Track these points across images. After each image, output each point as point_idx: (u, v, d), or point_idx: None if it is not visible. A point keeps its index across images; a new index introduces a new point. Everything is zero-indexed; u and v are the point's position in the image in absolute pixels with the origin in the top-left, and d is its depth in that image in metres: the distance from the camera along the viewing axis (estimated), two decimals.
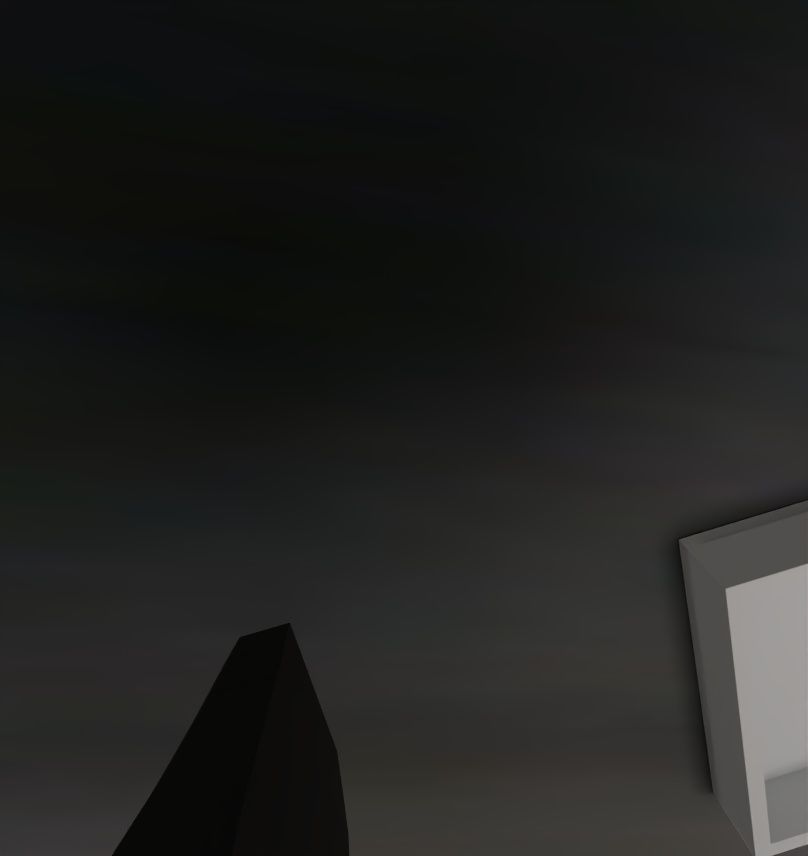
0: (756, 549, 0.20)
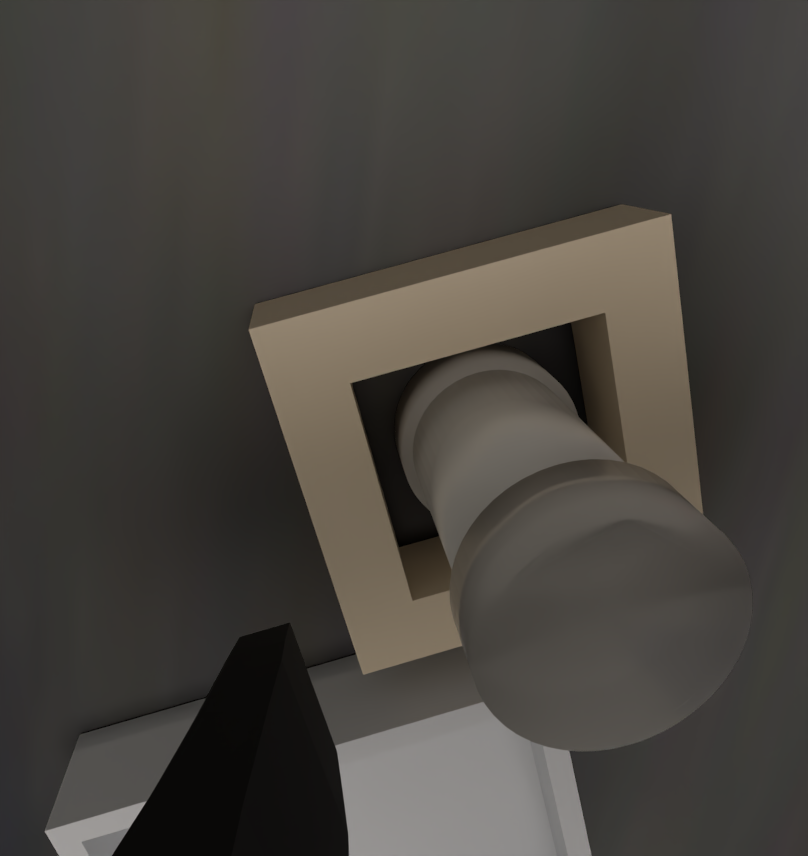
0: None
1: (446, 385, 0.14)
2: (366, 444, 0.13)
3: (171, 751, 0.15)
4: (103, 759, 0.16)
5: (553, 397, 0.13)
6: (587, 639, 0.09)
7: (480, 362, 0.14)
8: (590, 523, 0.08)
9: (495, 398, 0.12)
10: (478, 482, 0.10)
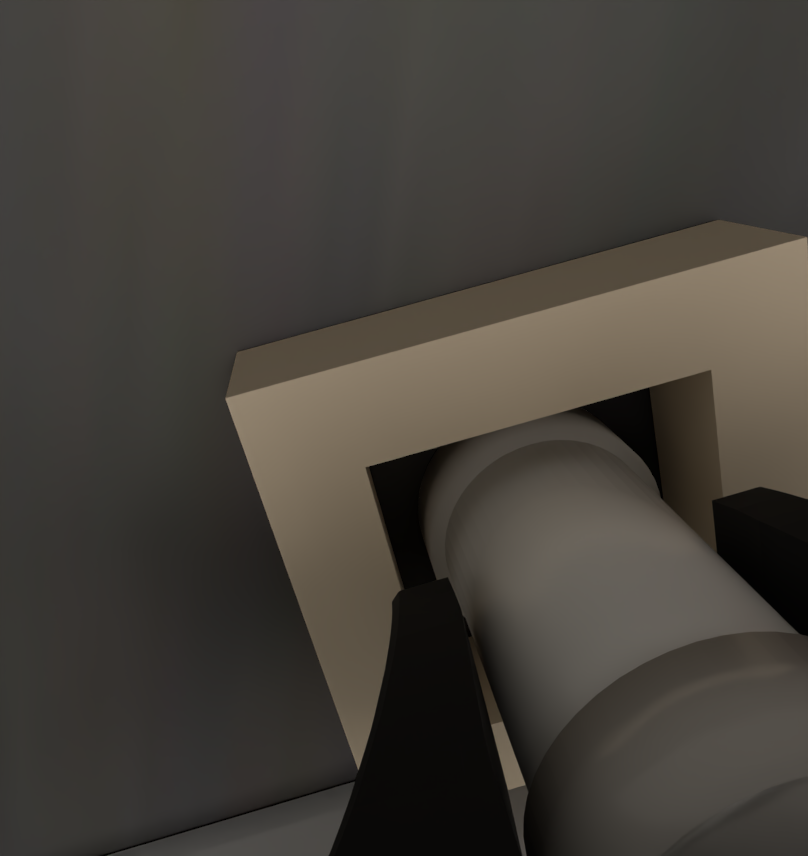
0: None
1: (489, 460, 0.10)
2: (386, 545, 0.10)
3: None
4: None
5: (639, 484, 0.09)
6: None
7: (536, 430, 0.10)
8: (780, 775, 0.05)
9: (564, 490, 0.09)
10: (560, 640, 0.07)
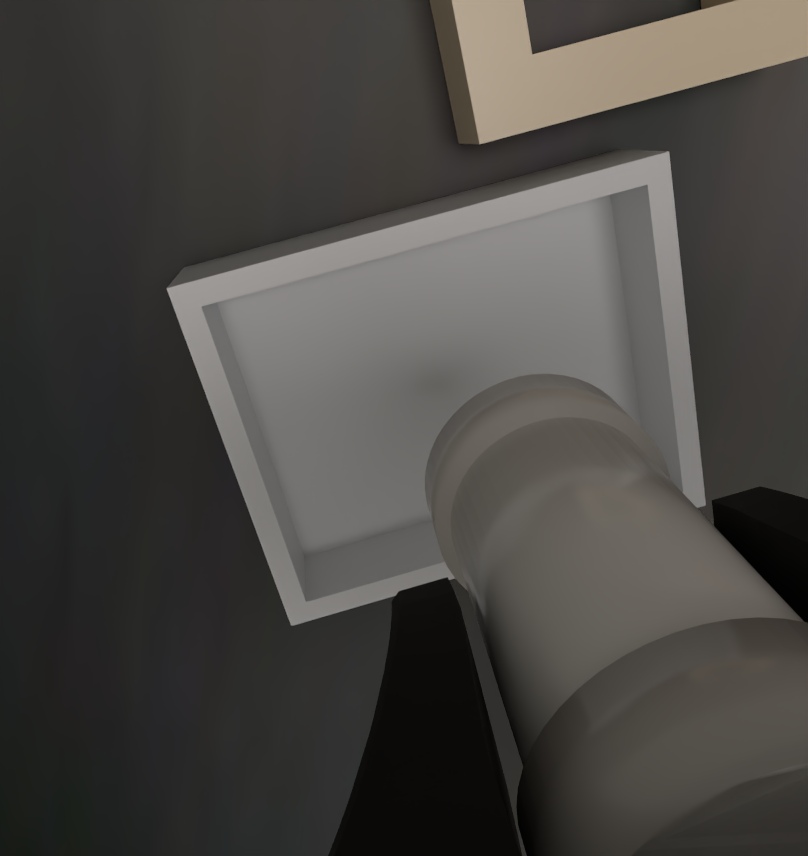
0: None
1: (501, 433, 0.10)
2: None
3: (282, 248, 0.16)
4: (213, 265, 0.16)
5: (651, 465, 0.09)
6: None
7: (549, 406, 0.10)
8: (783, 762, 0.05)
9: (574, 467, 0.09)
10: (564, 616, 0.07)
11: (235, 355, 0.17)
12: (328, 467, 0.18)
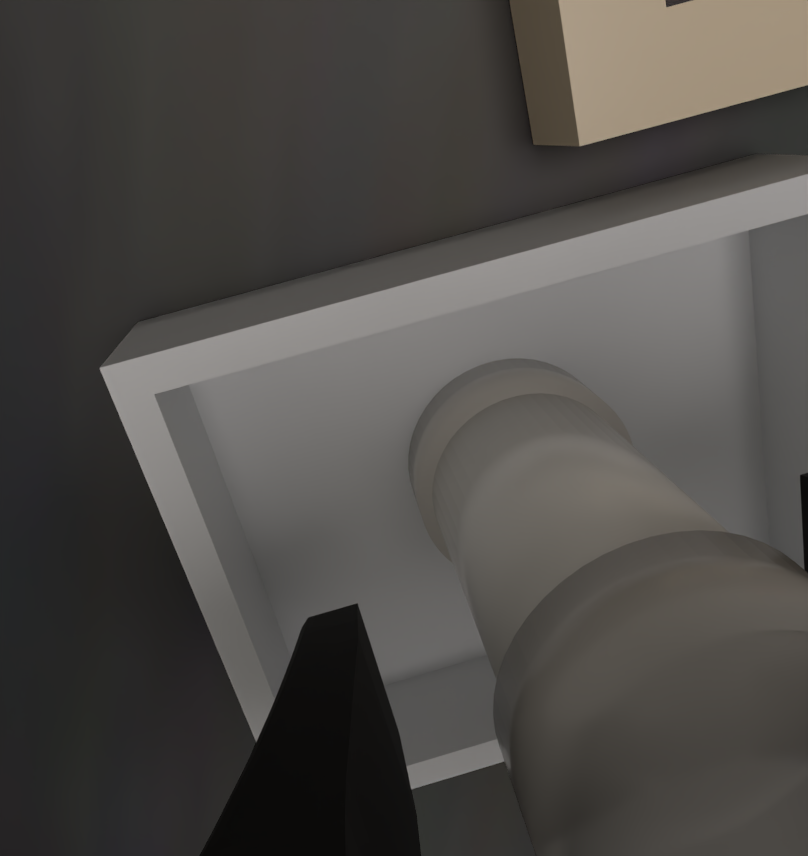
0: None
1: (477, 409, 0.11)
2: None
3: (279, 300, 0.10)
4: (177, 323, 0.11)
5: (614, 431, 0.10)
6: (695, 791, 0.06)
7: (521, 383, 0.11)
8: (715, 633, 0.06)
9: (544, 430, 0.10)
10: (532, 547, 0.08)
11: (212, 445, 0.12)
12: (343, 593, 0.13)
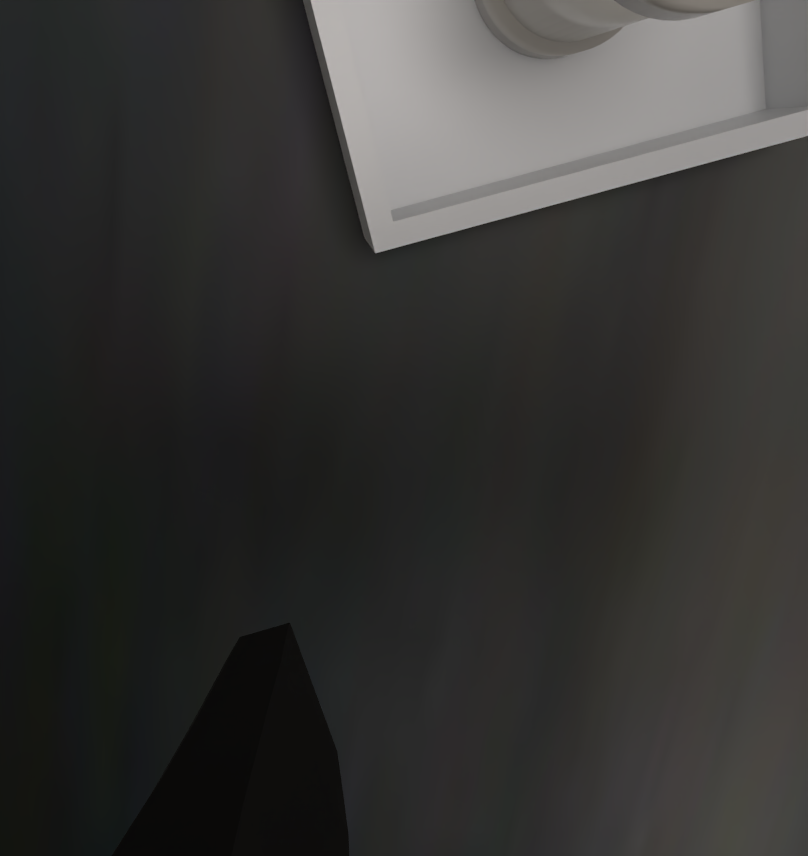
0: (351, 175, 0.16)
1: None
2: None
3: None
4: None
5: None
6: None
7: None
8: None
9: None
10: None
11: None
12: (413, 94, 0.16)
